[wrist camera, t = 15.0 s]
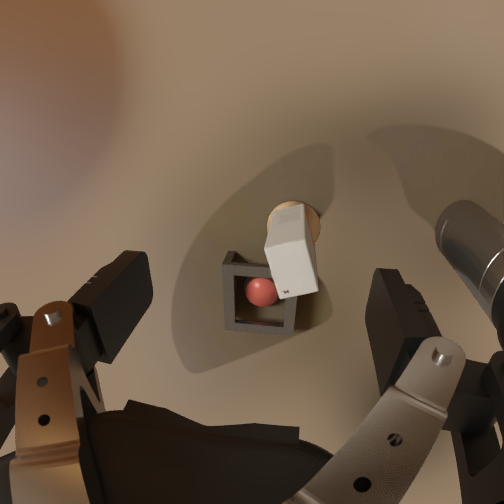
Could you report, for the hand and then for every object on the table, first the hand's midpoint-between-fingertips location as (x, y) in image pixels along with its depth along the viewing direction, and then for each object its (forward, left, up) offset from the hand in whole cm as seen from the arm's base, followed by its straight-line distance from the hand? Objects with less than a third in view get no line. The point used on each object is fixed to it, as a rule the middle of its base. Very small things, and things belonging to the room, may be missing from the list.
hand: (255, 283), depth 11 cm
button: (+3, +19, -30) cm, 36 cm away
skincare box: (-1, +9, -30) cm, 31 cm away
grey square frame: (+3, +19, -30) cm, 36 cm away
